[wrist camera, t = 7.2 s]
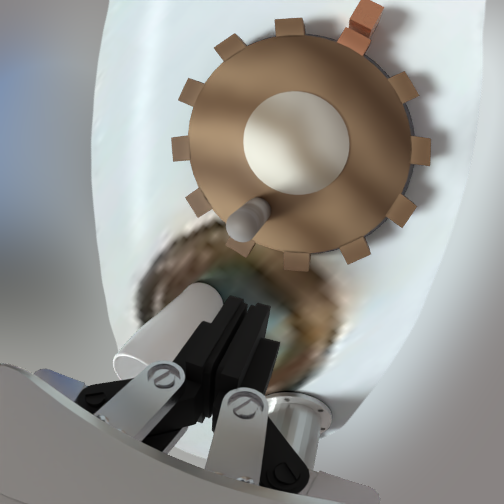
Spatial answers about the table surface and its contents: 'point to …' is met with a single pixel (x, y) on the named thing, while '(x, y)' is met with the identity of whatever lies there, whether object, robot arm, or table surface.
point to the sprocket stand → (365, 25)
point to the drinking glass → (168, 330)
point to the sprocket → (300, 144)
